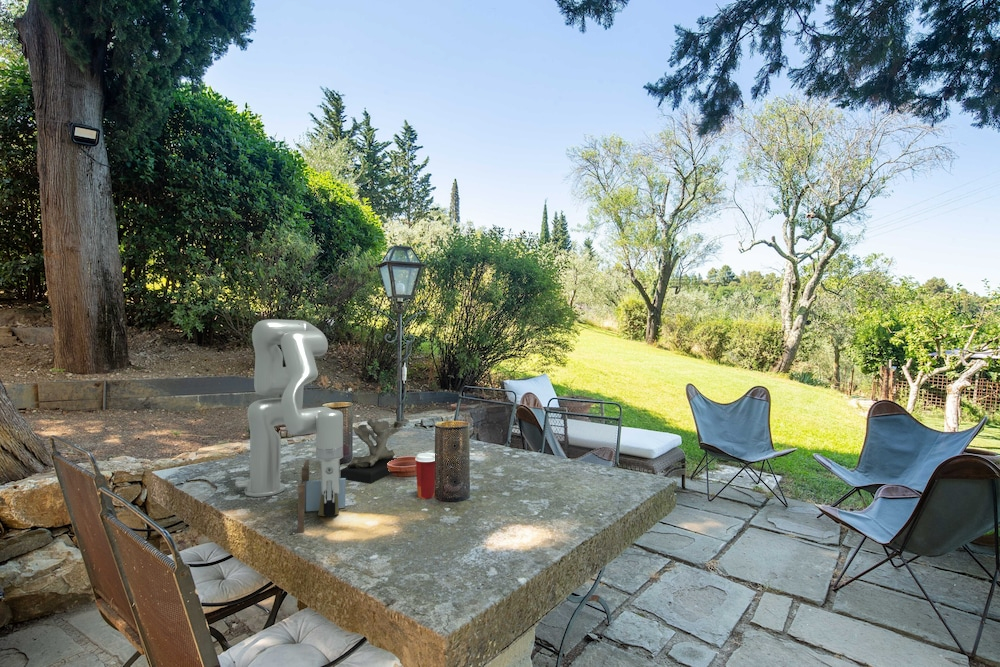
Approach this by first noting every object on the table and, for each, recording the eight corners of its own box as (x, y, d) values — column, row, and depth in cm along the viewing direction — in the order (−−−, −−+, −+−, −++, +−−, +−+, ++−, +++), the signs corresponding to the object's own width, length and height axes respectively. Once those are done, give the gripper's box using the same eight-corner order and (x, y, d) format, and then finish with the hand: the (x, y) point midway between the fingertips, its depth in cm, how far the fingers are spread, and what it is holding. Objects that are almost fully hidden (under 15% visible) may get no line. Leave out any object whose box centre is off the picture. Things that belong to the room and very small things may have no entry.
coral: (379, 462, 202) (380, 411, 202) (421, 468, 194) (421, 415, 194) (338, 478, 179) (339, 421, 179) (383, 486, 171) (384, 427, 171)
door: (345, 507, 149) (345, 479, 149) (302, 511, 145) (302, 482, 145) (345, 506, 151) (345, 477, 150) (302, 510, 146) (302, 481, 146)
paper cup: (441, 494, 164) (442, 453, 164) (429, 501, 157) (429, 459, 157) (422, 490, 167) (423, 451, 167) (409, 497, 160) (410, 456, 160)
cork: (320, 512, 146) (321, 475, 148) (340, 511, 147) (342, 474, 149) (315, 516, 140) (317, 477, 142) (337, 515, 141) (338, 476, 143)
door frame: (296, 533, 131) (297, 486, 131) (303, 499, 157) (304, 459, 157) (304, 532, 132) (305, 485, 132) (310, 498, 158) (310, 459, 158)
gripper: (343, 458, 134) (343, 523, 134) (342, 446, 149) (342, 505, 148) (314, 460, 132) (314, 526, 132) (317, 448, 146) (316, 508, 146)
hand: (329, 515), depth 140 cm, fingers closed
